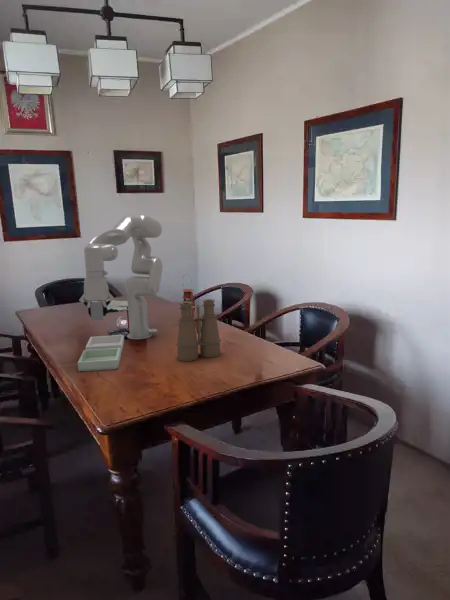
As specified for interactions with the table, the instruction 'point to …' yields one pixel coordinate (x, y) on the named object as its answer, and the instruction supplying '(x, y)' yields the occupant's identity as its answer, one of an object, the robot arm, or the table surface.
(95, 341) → the bin
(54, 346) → the table surface
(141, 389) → the table surface
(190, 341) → the binoculars
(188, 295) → the lantern
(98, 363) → the bin
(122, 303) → the topographic map model
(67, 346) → the table surface
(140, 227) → the robot arm
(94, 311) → the stone block
